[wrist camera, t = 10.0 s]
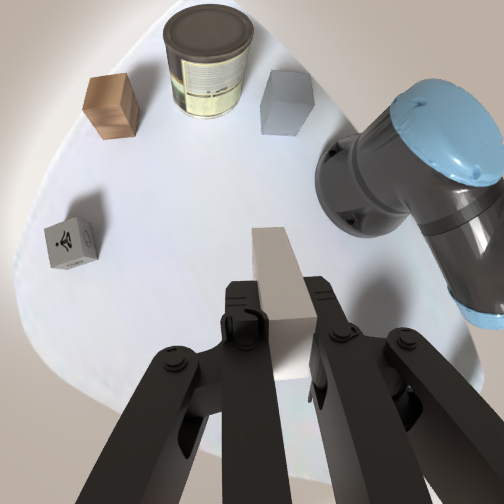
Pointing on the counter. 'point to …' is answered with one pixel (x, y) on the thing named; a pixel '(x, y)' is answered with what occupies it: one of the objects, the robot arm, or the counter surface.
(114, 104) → the walnut block
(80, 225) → the dice cube
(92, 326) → the counter surface
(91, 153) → the counter surface
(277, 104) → the slate-grey block
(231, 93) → the coffee can
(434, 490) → the robot arm
